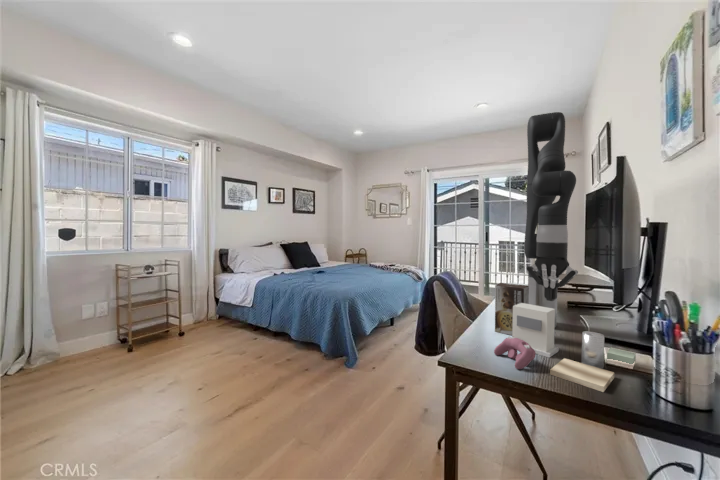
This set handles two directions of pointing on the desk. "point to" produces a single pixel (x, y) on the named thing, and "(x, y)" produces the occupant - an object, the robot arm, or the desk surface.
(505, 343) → the video game controller
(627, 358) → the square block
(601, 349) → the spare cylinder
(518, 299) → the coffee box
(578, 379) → the birch pad
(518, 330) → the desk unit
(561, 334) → the desk surface
